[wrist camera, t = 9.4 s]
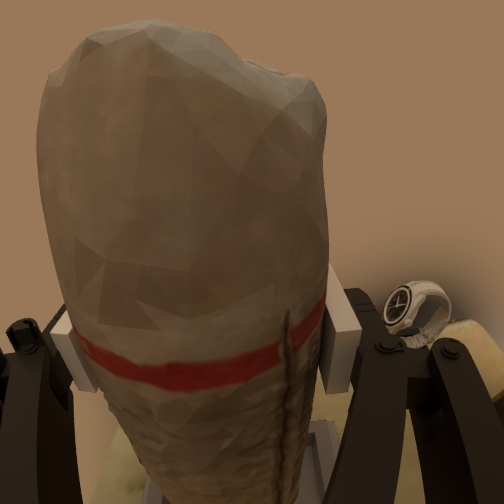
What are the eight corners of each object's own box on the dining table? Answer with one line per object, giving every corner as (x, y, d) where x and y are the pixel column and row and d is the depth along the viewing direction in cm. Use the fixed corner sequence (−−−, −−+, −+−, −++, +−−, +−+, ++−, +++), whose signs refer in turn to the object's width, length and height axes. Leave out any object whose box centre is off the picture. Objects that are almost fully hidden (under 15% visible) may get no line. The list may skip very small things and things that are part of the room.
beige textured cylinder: (191, 409, 20) (128, 79, 11) (311, 429, 18) (328, 54, 9) (140, 508, 12) (-53, 92, 4) (286, 548, 10) (310, -73, 2)
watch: (367, 350, 36) (382, 273, 32) (423, 345, 35) (445, 272, 31) (376, 382, 31) (397, 303, 27) (437, 375, 30) (466, 298, 26)
